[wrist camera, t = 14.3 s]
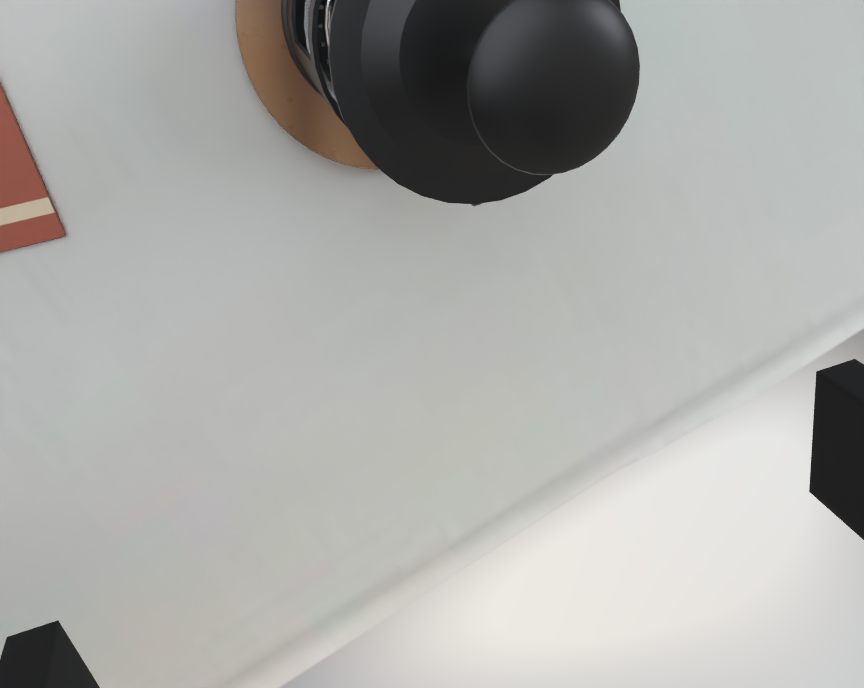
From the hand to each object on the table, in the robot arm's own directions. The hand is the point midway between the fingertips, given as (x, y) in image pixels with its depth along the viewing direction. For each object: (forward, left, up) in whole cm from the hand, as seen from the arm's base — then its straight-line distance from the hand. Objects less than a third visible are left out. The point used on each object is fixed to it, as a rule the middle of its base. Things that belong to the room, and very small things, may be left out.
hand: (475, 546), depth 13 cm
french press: (+5, +5, -30) cm, 31 cm away
